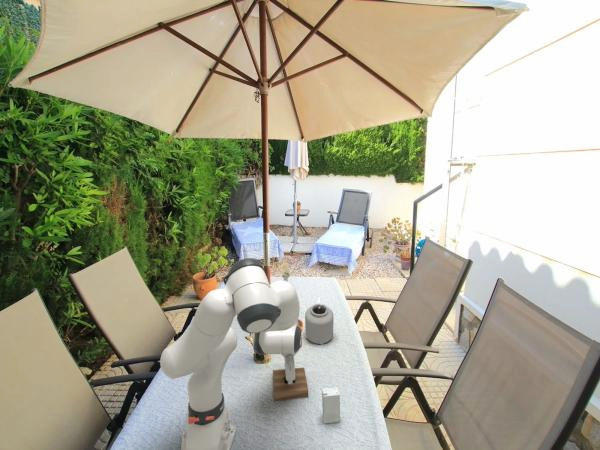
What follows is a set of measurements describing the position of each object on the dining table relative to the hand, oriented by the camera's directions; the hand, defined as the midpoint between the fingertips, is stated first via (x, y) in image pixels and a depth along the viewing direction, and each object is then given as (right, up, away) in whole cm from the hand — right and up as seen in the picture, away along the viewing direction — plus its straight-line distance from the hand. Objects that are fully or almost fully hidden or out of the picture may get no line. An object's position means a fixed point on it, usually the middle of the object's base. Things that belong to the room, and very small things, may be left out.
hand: (289, 375), depth 136 cm
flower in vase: (-5, +14, +90) cm, 91 cm away
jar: (+15, +2, +35) cm, 38 cm away
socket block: (0, -5, +1) cm, 6 cm away
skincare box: (+16, -9, -16) cm, 24 cm away
